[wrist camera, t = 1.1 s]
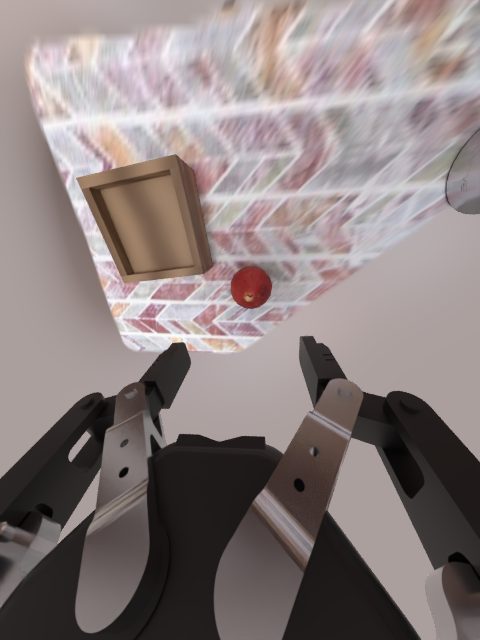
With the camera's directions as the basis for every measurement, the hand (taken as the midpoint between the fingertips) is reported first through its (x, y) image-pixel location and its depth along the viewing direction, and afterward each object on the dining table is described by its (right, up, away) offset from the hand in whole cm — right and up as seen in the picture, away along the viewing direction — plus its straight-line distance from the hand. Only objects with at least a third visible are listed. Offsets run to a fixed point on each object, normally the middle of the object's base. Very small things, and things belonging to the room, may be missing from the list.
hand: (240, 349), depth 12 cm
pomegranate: (+2, +9, +16) cm, 18 cm away
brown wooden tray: (-11, +16, +14) cm, 24 cm away
